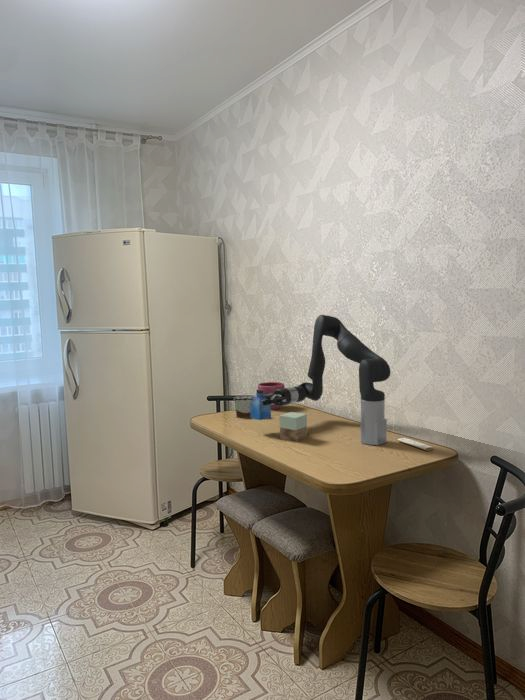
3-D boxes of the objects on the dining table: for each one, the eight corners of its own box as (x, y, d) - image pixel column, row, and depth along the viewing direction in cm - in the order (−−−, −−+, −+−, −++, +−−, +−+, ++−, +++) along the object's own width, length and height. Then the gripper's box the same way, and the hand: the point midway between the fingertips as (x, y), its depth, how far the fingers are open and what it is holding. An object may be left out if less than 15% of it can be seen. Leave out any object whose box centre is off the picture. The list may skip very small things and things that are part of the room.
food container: (260, 414, 255) (259, 394, 254) (258, 417, 248) (258, 397, 247) (235, 414, 256) (235, 394, 255) (233, 417, 250) (233, 397, 249)
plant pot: (257, 405, 276) (257, 381, 275) (283, 404, 277) (283, 381, 276) (258, 411, 262) (258, 386, 261) (286, 410, 263) (285, 385, 262)
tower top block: (306, 426, 212) (306, 414, 211) (296, 430, 205) (295, 418, 205) (290, 423, 216) (290, 411, 216) (279, 427, 210) (279, 415, 210)
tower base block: (306, 437, 213) (306, 425, 212) (297, 442, 206) (297, 430, 205) (289, 435, 217) (289, 423, 216) (280, 439, 210) (280, 427, 210)
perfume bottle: (261, 415, 224) (260, 388, 223) (271, 417, 219) (270, 389, 218) (250, 417, 220) (249, 390, 219) (259, 420, 215) (258, 391, 214)
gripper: (274, 386, 234) (246, 391, 223) (297, 389, 224) (269, 395, 212) (275, 402, 235) (247, 408, 224) (297, 406, 224) (269, 412, 213)
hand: (258, 401), depth 218 cm, fingers closed on perfume bottle, 6 cm apart
